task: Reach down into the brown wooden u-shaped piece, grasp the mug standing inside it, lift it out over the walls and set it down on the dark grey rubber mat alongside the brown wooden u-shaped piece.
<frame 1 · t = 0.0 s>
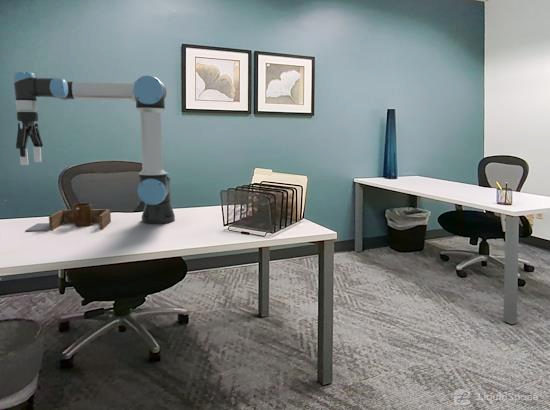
hand: (31, 163, 181), 28 cm above the table, fingers open, 13 cm apart
mug: (81, 226, 192), resting in brown wooden u-shaped piece
mat: (42, 227, 188), on the table
brown wooden u-shaped piece: (81, 226, 192), on the table
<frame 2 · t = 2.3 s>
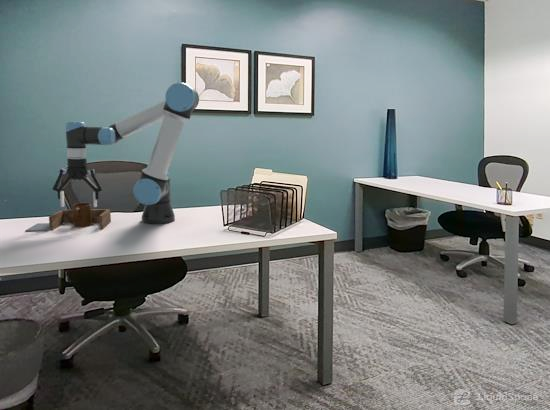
hand: (79, 206, 190), 9 cm above the table, fingers open, 13 cm apart
nothing on the table moved.
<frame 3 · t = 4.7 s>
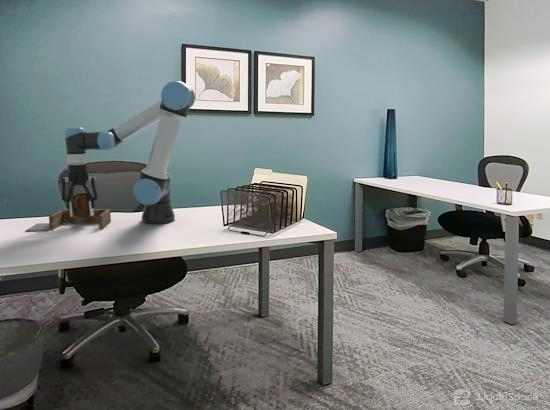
hand: (82, 215, 191), 5 cm above the table, fingers closed on mug, 7 cm apart
mug: (81, 216, 191), point 4 cm above the table, touching gripper
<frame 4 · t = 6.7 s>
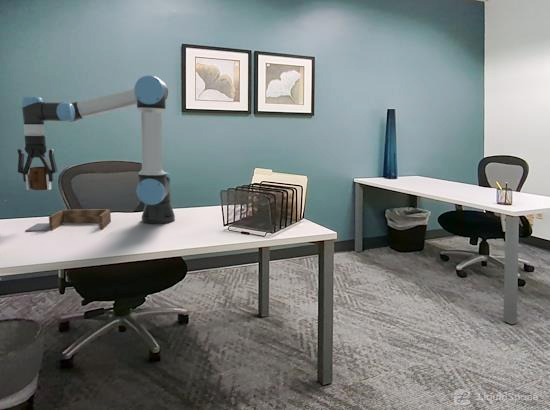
hand: (39, 189, 185), 17 cm above the table, fingers closed on mug, 7 cm apart
mug: (38, 190, 185), point 16 cm above the table, touching gripper
when the fingers open (3 cm above the table, at t = 9.1 s): mug drops 2 cm, resting on mat.
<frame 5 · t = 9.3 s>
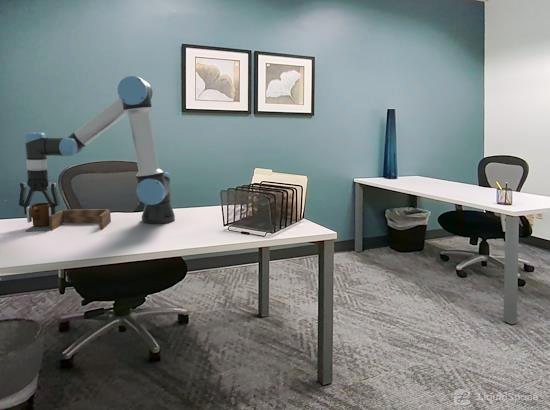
hand: (40, 221, 187), 3 cm above the table, fingers open, 8 cm apart
mug: (40, 227, 188), resting on mat
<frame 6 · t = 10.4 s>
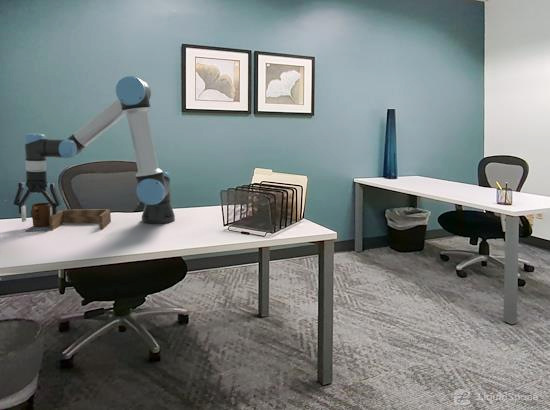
hand: (38, 221, 187), 3 cm above the table, fingers open, 11 cm apart
nothing on the table moved.
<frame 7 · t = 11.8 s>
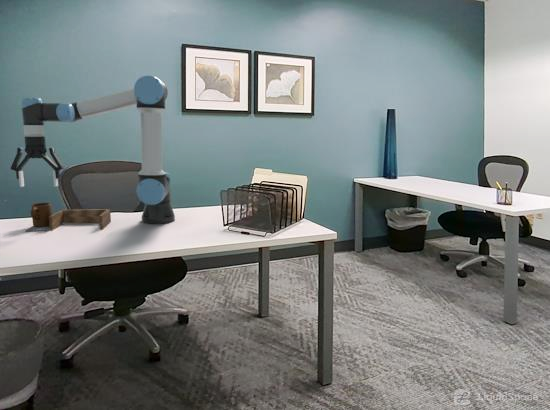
hand: (39, 186, 185), 18 cm above the table, fingers open, 13 cm apart
nothing on the table moved.
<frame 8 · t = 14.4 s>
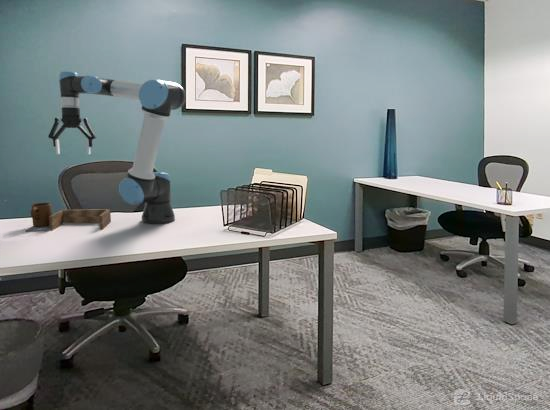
hand: (73, 154, 201), 31 cm above the table, fingers open, 13 cm apart
nothing on the table moved.
at the end: mug inside the target area on the mat (0.8 cm from its centre), point 0.4 cm above the mat's base; mug tilted 0°; the gripper is holding nothing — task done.
